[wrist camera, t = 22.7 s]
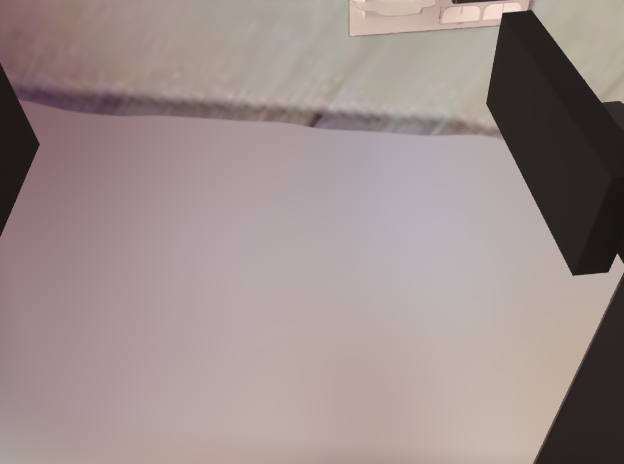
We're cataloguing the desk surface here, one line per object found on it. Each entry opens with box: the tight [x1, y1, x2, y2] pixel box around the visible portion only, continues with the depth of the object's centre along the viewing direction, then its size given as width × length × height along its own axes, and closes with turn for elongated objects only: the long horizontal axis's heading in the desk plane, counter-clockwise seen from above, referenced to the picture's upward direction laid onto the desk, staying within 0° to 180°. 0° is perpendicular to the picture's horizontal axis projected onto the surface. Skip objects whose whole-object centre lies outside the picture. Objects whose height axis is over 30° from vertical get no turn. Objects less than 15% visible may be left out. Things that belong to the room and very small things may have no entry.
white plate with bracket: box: [349, 0, 530, 36], centre depth 46 cm, size 15×7×4 cm, turn 92°
